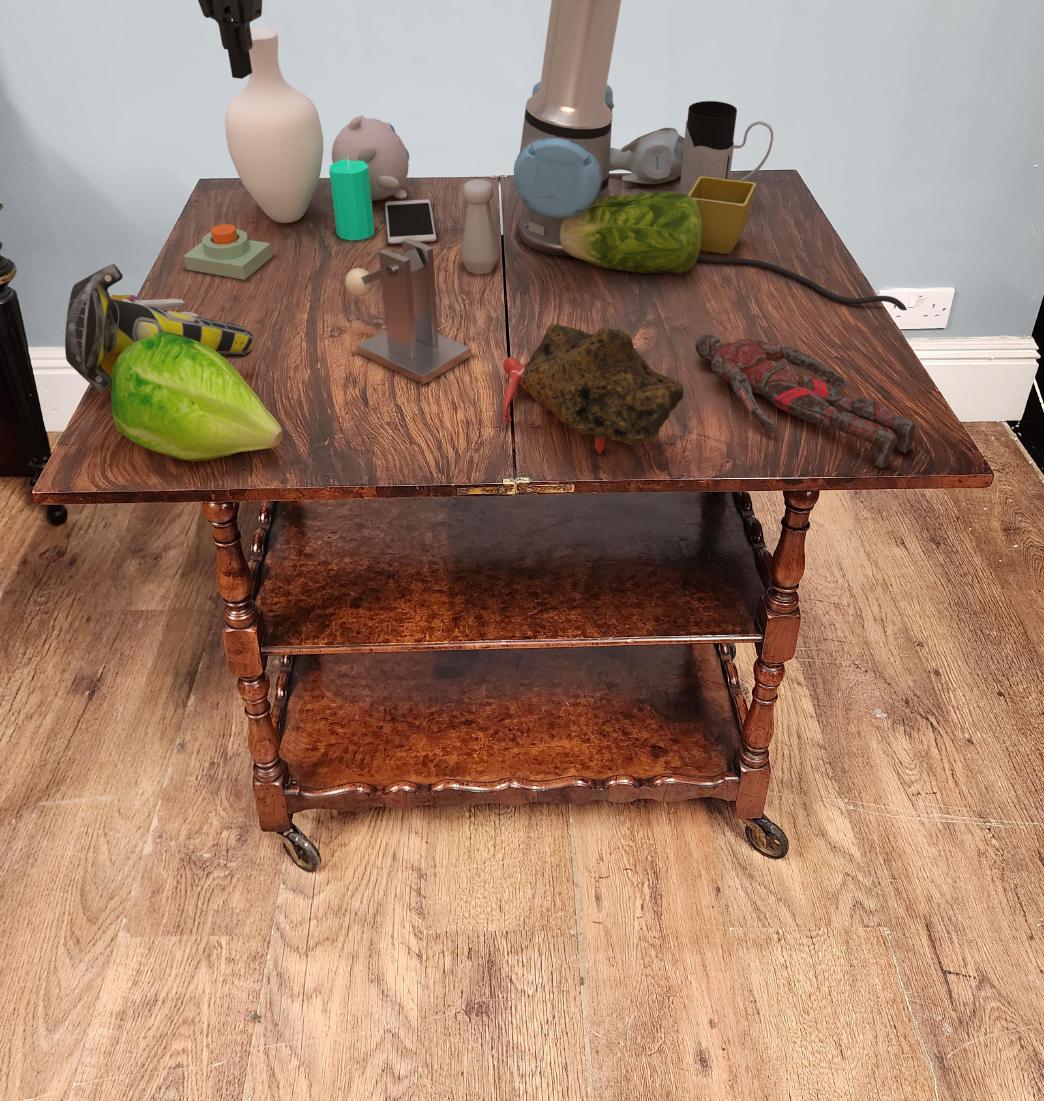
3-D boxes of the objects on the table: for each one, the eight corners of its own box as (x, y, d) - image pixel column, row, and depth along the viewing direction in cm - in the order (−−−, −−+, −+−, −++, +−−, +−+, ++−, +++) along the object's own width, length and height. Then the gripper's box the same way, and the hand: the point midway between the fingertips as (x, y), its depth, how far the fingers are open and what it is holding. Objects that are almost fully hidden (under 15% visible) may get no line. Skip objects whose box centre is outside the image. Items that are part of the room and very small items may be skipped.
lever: (347, 303, 142) (335, 277, 141) (367, 293, 145) (355, 267, 143) (409, 279, 132) (396, 251, 131) (430, 269, 134) (417, 241, 133)
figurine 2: (930, 436, 128) (732, 340, 144) (941, 401, 124) (737, 307, 141) (858, 487, 120) (658, 379, 137) (867, 451, 117) (662, 345, 134)
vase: (303, 244, 166) (275, 52, 148) (223, 229, 170) (187, 40, 152) (348, 208, 176) (327, 24, 158) (272, 195, 180) (243, 14, 162)
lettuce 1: (259, 510, 126) (232, 477, 115) (110, 441, 128) (69, 402, 117) (314, 409, 129) (294, 367, 118) (168, 344, 132) (134, 296, 120)
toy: (380, 112, 165) (377, 88, 177) (313, 151, 167) (314, 124, 179) (427, 195, 173) (420, 167, 185) (363, 231, 175) (360, 200, 187)
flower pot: (680, 254, 164) (685, 197, 158) (693, 231, 170) (699, 174, 164) (737, 263, 161) (745, 205, 156) (749, 239, 168) (757, 182, 162)
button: (242, 237, 160) (240, 226, 159) (229, 247, 158) (227, 236, 157) (221, 233, 161) (219, 222, 160) (208, 243, 159) (205, 232, 158)
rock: (619, 359, 109) (498, 301, 122) (607, 464, 115) (494, 398, 128) (709, 336, 116) (586, 283, 129) (693, 435, 122) (578, 376, 135)
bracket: (357, 353, 142) (345, 248, 132) (405, 327, 147) (397, 223, 138) (423, 385, 136) (415, 277, 127) (471, 356, 142) (467, 250, 132)
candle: (368, 242, 167) (360, 165, 159) (331, 238, 168) (321, 162, 160) (379, 225, 172) (372, 150, 164) (343, 222, 173) (335, 147, 165)
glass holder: (680, 189, 182) (689, 97, 172) (765, 198, 179) (779, 105, 169) (671, 210, 175) (680, 116, 166) (759, 220, 172) (773, 124, 163)
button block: (272, 256, 164) (268, 231, 161) (245, 280, 158) (240, 254, 155) (215, 247, 166) (210, 222, 164) (186, 269, 161) (180, 244, 158)
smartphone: (387, 241, 166) (384, 201, 177) (388, 245, 166) (384, 205, 177) (436, 238, 166) (430, 198, 178) (437, 242, 167) (430, 202, 178)
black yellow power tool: (293, 294, 130) (247, 285, 137) (82, 259, 111) (40, 251, 117) (279, 409, 133) (234, 395, 140) (71, 395, 114) (30, 379, 120)
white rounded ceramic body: (712, 133, 177) (700, 122, 186) (597, 132, 176) (589, 121, 184) (706, 187, 182) (694, 174, 190) (594, 187, 180) (587, 173, 189)
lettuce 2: (561, 244, 165) (560, 176, 157) (697, 245, 164) (703, 176, 156) (557, 288, 158) (557, 219, 149) (700, 289, 156) (707, 219, 148)
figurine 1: (664, 419, 131) (550, 349, 141) (667, 394, 128) (552, 325, 139) (569, 473, 123) (456, 395, 133) (571, 448, 120) (455, 370, 131)
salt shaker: (485, 280, 158) (482, 194, 149) (452, 271, 160) (448, 185, 151) (506, 265, 161) (505, 179, 153) (474, 256, 164) (472, 171, 155)
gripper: (271, -131, 132) (298, 71, 147) (180, -137, 135) (215, 62, 151) (239, -120, 126) (270, 89, 142) (144, -126, 130) (185, 78, 145)
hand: (242, 75), depth 146 cm, fingers closed
